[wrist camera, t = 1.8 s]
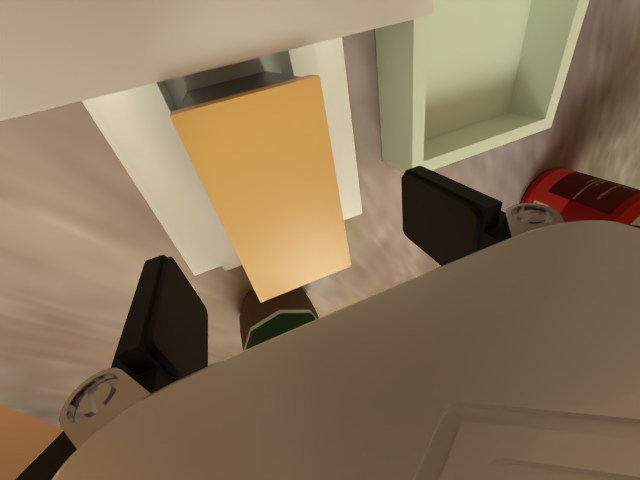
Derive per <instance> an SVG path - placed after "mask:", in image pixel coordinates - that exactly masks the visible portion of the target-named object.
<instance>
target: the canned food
mask: <svg viewBox="0 0 640 480" xmlns="http://www.w3.org/2000/svg"><path fill="white" fill-rule="evenodd" d="M521 203H535V204H541V205H545V206H548V207H551V208H553V209H555V210H556V211H558V213H559V214H560V215H561V217H562V219H563V220H564V222H575V221H588V220H605V221H613V222H618V223H622V224H626V225H637V226H640V190H638V189H635V188H631V187H628V186H625V185H621V184H618V183H614V182H611V181H607V180H604V179H600V178H597V177H594V176H590V175H587V174H583V173H580V172H576V171H573V170H569V169H565V168H555V169H551V170H548V171H546V172H545V173H543V174H542V175H540V176H539V177H538V178H537V179H536V180H535V181H534V182H533V183H532V184H531V185H530V186H529V188H528V189H527V191H526V192H525V194H524V196H523V198H522V200H521Z"/></svg>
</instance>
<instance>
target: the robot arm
mask: <svg viewBox="0 0 640 480" xmlns="http://www.w3.org/2000/svg"><path fill="white" fill-rule="evenodd" d="M501 207H502V202H501V201H498V200H496V199H494V198H492V197H489V196H487V195H485V194H483V193H481V192H478V191H476V190H474V189H472V188H469V187H467V186H465V185H463V184H460V183H458V182H456V181H454V180H452V179H449V178H447V177H445V176H443V175H440V174H438V173H436V172H434V171H431V170H429V169H427V168H425V167H423V166H417V167H414V168H411V169H408V170H406V171H405V173H404V175H403V176H402V212H403V231H404V234H405V235H406V236H407V237H408V238H409V239H410V240H411V241H412V242H414V243H415V244H416V245H417V246H418V247H420V248H421V249H422V250H423V251H424V252H426V253H427V254H428V255H429V256H430V257H431V258H433V259H434V260H435V261H436V262H437V263H439V264H440V265H441V267H439V268H436V269H434V270H432V271H429V272H427V273H425V274H422V275H420V276H417V277H415V278H413V279H410V280H408V281H406V282H403V283H401V284H398V285H396V286H394V287H391V288H389V289H387V290H384V291H382V292H380V293H377V294H375V295H372V296H370V297H368V298H365V299H363V300H361V301H358V302H356V303H354V304H351V305H349V306H347V307H344V308H342V309H340V310H337V311H335V312H332V313H330V314H328V315H325V316H323V317H321V318H318V319H316V320H314V321H311V322H309V323H307V324H305V325H302V326H300V327H298V328H295V329H293V330H291V331H288V332H286V333H284V334H281V335H279V336H277V337H274V338H272V339H270V340H267V341H265V342H263V343H260V344H258V345H256V346H253V347H251V348H249V349H246V350H244V351H242V352H240V353H237V354H235V355H233V356H230V357H228V358H226V359H223V360H221V361H219V362H216V363H214V364H212V365H210V366H208V314H207V310H206V307H205V305H204V304H203V302H202V301H201V299H200V298H199V296H198V295H197V293H196V292H195V290H194V289H193V287H192V286H191V284H190V283H189V281H188V280H187V278H186V277H185V275H184V274H183V272H182V271H181V269H180V268H179V266H178V265H177V263H176V262H175V260H174V259H173V258H172V257H168V258H167V257H166V256H165V255H161V256H158V257H156V258H153V259H150V260H147V261H146V262H145V264H144V267H143V270H142V273H141V276H140V279H139V282H138V285H137V289H136V292H135V295H134V298H133V301H132V304H131V307H130V310H129V313H128V316H127V319H126V322H125V325H124V329H123V332H122V335H121V338H120V341H119V344H118V347H117V350H116V353H115V357H114V360H113V363H112V366H111V368H108V369H105V370H102V371H100V372H98V373H96V374H94V375H92V376H91V377H89V378H88V379H87V380H85V381H84V382H83V383H82V384H80V385H79V386H78V387H77V388H76V389H75V390H74V391H73V392H72V394H71V395H70V396H69V398H68V399H67V400H66V402H65V404H64V406H63V408H62V409H61V411H60V416H59V423H60V427H61V428H62V429H63V432H62V433H61V434H60V435H59V436H58V437H57V438H56V439H55V440H54V441H53V442H52V443H51V444H50V445H49V446H48V447H47V448H46V449H45V450H44V451H43V452H42V453H41V454H40V455H39V456H38V457H37V458H36V459H35V460H34V461H33V462H32V463H31V464H30V465H29V466H28V467H27V469H25V470H24V472H23V473H22V474H20V476H19V477H18V478H17V479H16V480H640V226H637V225H626V224H622V223H618V222H613V221H605V220H588V221H575V222H564V220H563V219H562V217H561V215H560V214H559V213H558V211H556V210H555V209H553V208H551V207H548V206H545V205H541V204H535V203H520V204H516V205H512V206H510V207H509V208H508V209H507V210H506V213H505V212H503V211H501Z"/></svg>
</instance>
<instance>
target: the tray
mask: <svg viewBox="0 0 640 480" xmlns="http://www.w3.org/2000/svg"><path fill="white" fill-rule="evenodd" d="M588 2H589V0H434V5H433V15H429V16H425V17H421V18H417V19H413V20H409V21H405V22H401V23H397V24H392V25H388V26H384V27H380V28H376V29H375V40H376V57H377V75H378V93H379V110H380V128H381V146H382V161H383V162H385V163H387V164H389V165H391V166H392V167H394V168H396V169H398V170H400V171H401V172H403V173H405V171H406V170H408V169H411V168H414V167H417V166H423V167H425V168H427V169H429V170H434V169H437V168H440V167H442V166H445V165H448V164H451V163H454V162H456V161H459V160H462V159H465V158H467V157H470V156H473V155H476V154H479V153H481V152H484V151H487V150H490V149H493V148H495V147H498V146H501V145H504V144H506V143H509V142H512V141H515V140H518V139H520V138H523V137H526V136H529V135H532V134H534V133H537V132H540V131H543V130H545V129H548V128H551V125H552V122H553V119H554V115H555V112H556V109H557V105H558V102H559V99H560V96H561V92H562V89H563V86H564V82H565V79H566V76H567V72H568V69H569V66H570V62H571V59H572V56H573V52H574V49H575V46H576V42H577V39H578V36H579V32H580V29H581V26H582V22H583V19H584V16H585V12H586V9H587V6H588Z"/></svg>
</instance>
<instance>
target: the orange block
mask: <svg viewBox="0 0 640 480" xmlns="http://www.w3.org/2000/svg"><path fill="white" fill-rule="evenodd" d="M170 118H171V120H172V122H173V124H174V126H175V128H176V130H177V132H178V134H179V136H180V138H181V140H182V142H183V144H184V146H185V149H186V151H187V153H188V155H189V157H190V159H191V161H192V163H193V165H194V167H195V169H196V171H197V173H198V175H199V177H200V179H201V181H202V183H203V185H204V188H205V190H206V192H207V194H208V196H209V198H210V200H211V202H212V204H213V206H214V208H215V210H216V212H217V214H218V216H219V218H220V220H221V222H222V224H223V227H224V229H225V231H226V233H227V235H228V237H229V239H230V241H231V243H232V245H233V247H234V249H235V251H236V253H237V255H238V257H239V259H240V261H241V264H242V266H243V268H244V270H245V272H246V274H247V276H248V278H249V280H250V282H251V284H252V286H253V288H254V290H255V292H256V294H257V296H258V298H259V300H260V303H261V302H264V301H266V300H269V299H271V298H274V297H276V296H279V295H281V294H283V293H286V292H288V291H291V290H293V289H296V288H298V287H301V286H303V285H306V284H308V283H311V282H313V281H316V280H318V279H321V278H323V277H325V276H328V275H330V274H333V273H335V272H338V271H340V270H343V269H345V268H348V267H350V266H351V261H350V255H349V249H348V243H347V237H346V231H345V225H344V219H343V213H342V207H341V201H340V195H339V189H338V183H337V177H336V171H335V165H334V159H333V153H332V147H331V141H330V135H329V129H328V123H327V117H326V111H325V105H324V98H323V92H322V86H321V80H320V75H312V74H310V75H307V76H303V77H299V76H293V75H287V74H280V73H274V72H268V71H264V72H260V73H256V74H253V75H249V76H245V77H241V78H237V79H233V80H229V81H225V82H221V83H217V84H214V85H210V86H206V87H202V88H198V89H194V90H190V91H187V93H186V95H185V97H184V99H183V101H182V103H181V105H180V107H179V109H178V110H175V111H172V112H171V114H170Z"/></svg>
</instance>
